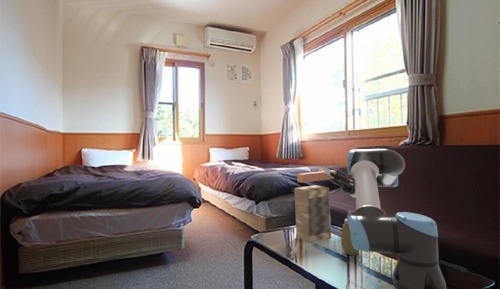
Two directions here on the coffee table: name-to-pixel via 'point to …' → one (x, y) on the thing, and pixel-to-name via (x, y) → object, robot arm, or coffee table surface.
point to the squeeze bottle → (347, 238)
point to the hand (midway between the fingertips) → (322, 170)
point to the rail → (313, 176)
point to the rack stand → (312, 213)
